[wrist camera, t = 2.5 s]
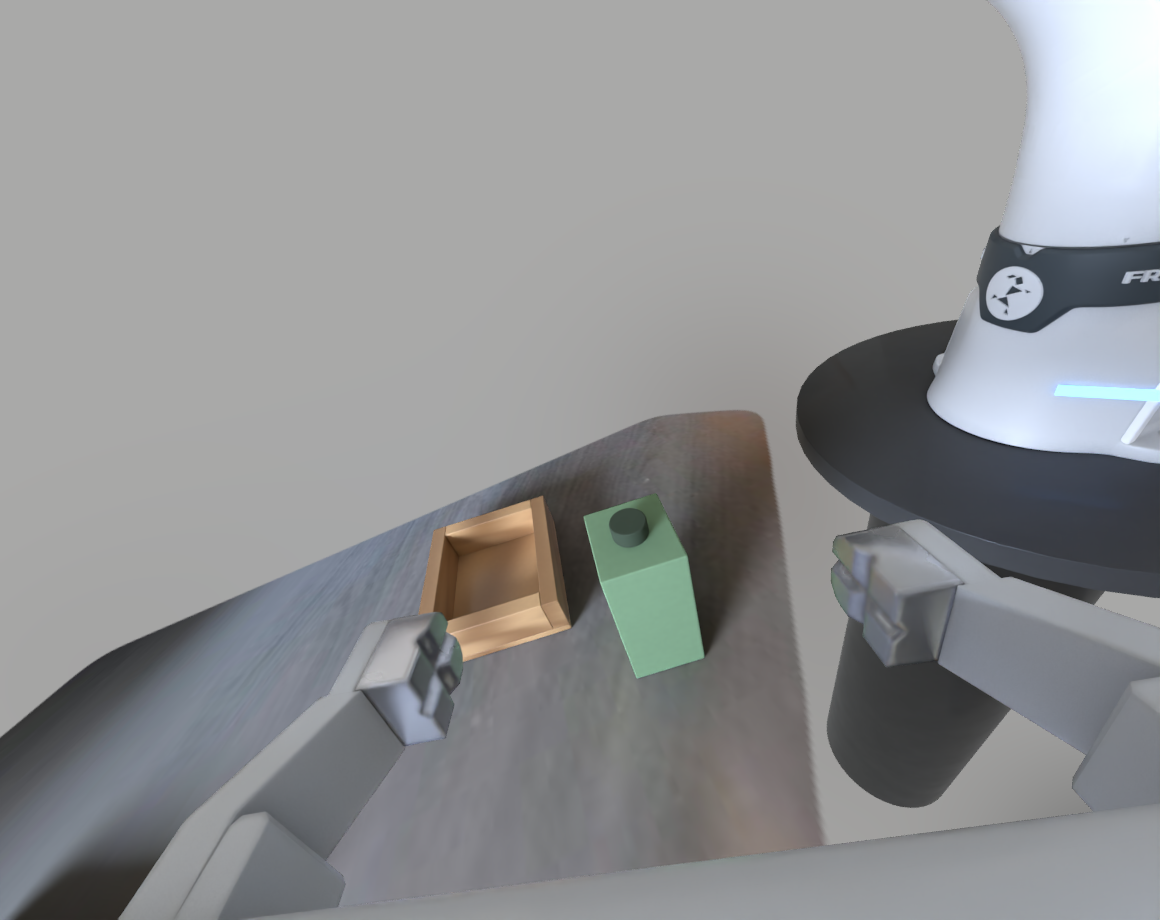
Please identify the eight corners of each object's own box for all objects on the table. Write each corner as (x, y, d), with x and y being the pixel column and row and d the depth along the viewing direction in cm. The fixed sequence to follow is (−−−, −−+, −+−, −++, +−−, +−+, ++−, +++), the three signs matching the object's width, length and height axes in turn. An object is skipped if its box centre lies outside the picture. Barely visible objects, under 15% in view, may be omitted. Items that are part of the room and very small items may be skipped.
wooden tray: (554, 521, 39) (542, 495, 37) (571, 628, 30) (557, 600, 28) (450, 554, 39) (433, 529, 37) (435, 670, 30) (412, 646, 28)
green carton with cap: (677, 593, 30) (653, 479, 24) (705, 658, 26) (686, 542, 20) (618, 611, 30) (578, 503, 24) (636, 679, 26) (595, 570, 20)
